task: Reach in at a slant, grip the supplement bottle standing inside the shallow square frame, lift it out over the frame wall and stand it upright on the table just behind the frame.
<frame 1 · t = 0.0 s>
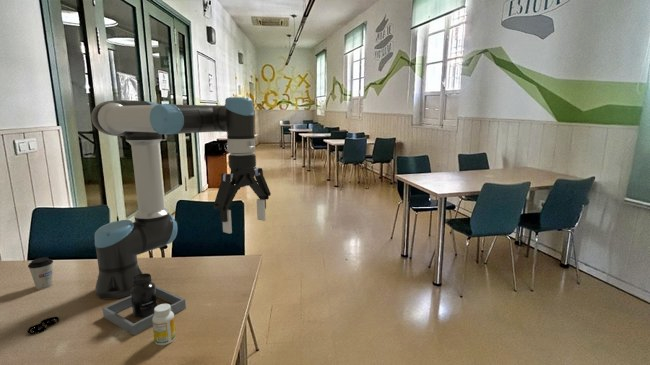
hand: (245, 226, 102), 28 cm above the table, tool pointing down, fingers open, 13 cm apart
supplement bottle: (145, 313, 108), resting in square frame
coffee cup: (44, 286, 124), on the table
supplement bottle 2: (165, 340, 95), on the table
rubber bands: (44, 328, 101), on the table
square frame: (145, 312, 108), on the table
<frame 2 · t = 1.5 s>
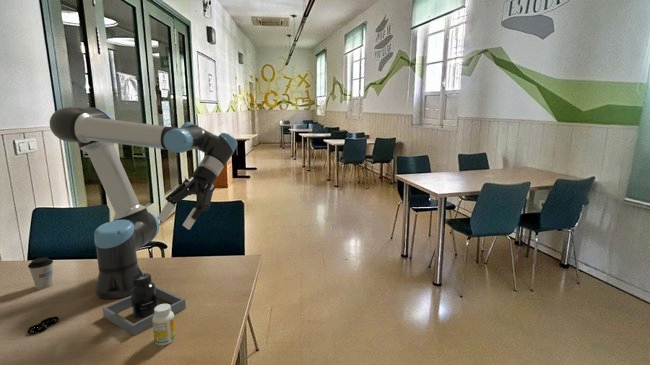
hand: (172, 223, 112), 25 cm above the table, tool tilted 45°, fingers open, 13 cm apart
nothing on the table moved.
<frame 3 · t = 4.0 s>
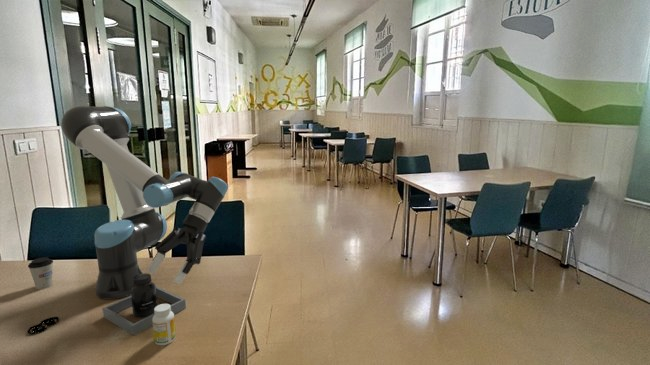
hand: (163, 277, 109), 10 cm above the table, tool tilted 45°, fingers open, 13 cm apart
nothing on the table moved.
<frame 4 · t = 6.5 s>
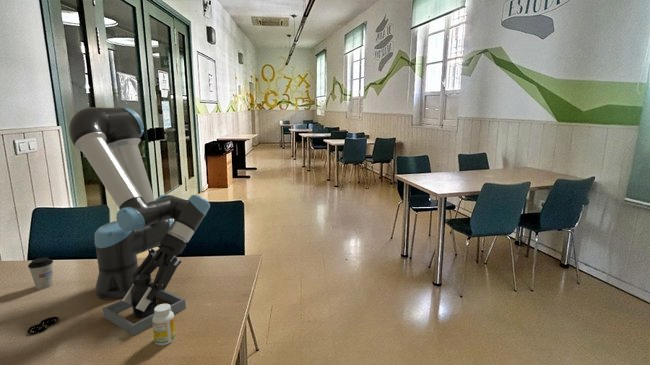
hand: (132, 306, 104), 4 cm above the table, tool tilted 45°, fingers closed on supplement bottle, 7 cm apart
supplement bottle: (145, 313, 108), resting in square frame, touching gripper
everything else where it was.
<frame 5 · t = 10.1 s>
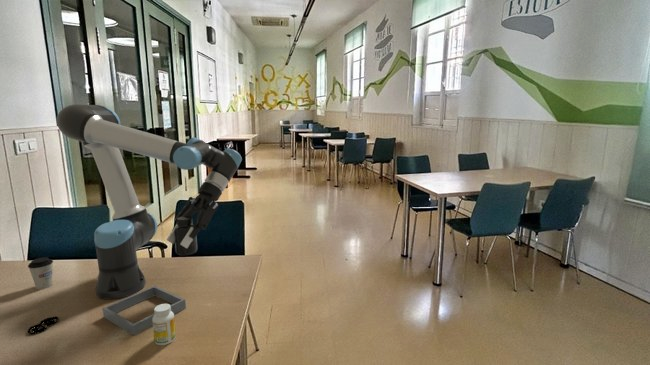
hand: (176, 243, 114), 18 cm above the table, tool tilted 45°, fingers closed on supplement bottle, 7 cm apart
supplement bottle: (187, 252, 118), point 14 cm above the table, touching gripper
everything else where it was.
when the fingers open (5 cm above the table, at t = 13.6 s): supplement bottle stays where it is, on the table.
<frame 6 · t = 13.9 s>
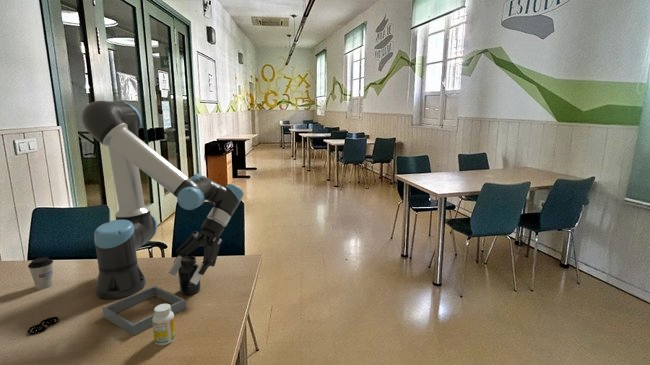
hand: (181, 278, 117), 6 cm above the table, tool tilted 45°, fingers open, 11 cm apart
supplement bottle: (190, 291, 121), on the table
everything else where it was.
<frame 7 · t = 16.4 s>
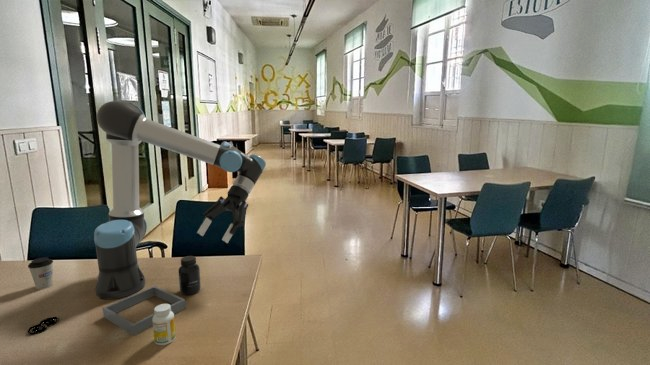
hand: (211, 237, 126), 16 cm above the table, tool tilted 45°, fingers open, 13 cm apart
nothing on the table moved.
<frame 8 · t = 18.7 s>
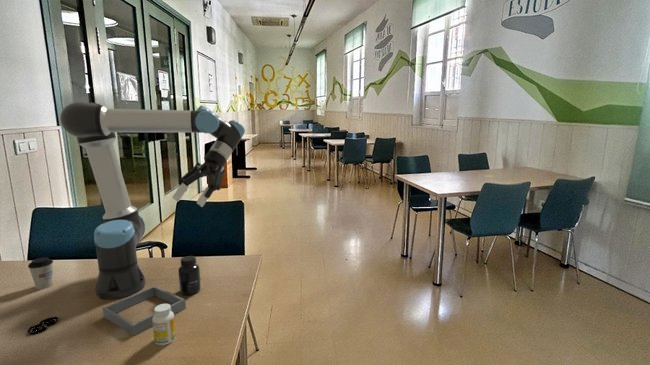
hand: (186, 202, 123), 30 cm above the table, tool tilted 45°, fingers open, 13 cm apart
nothing on the table moved.
at the end: supplement bottle inside the target area (0.4 cm from its centre), on the table; supplement bottle tilted 0°; the gripper is holding nothing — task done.
